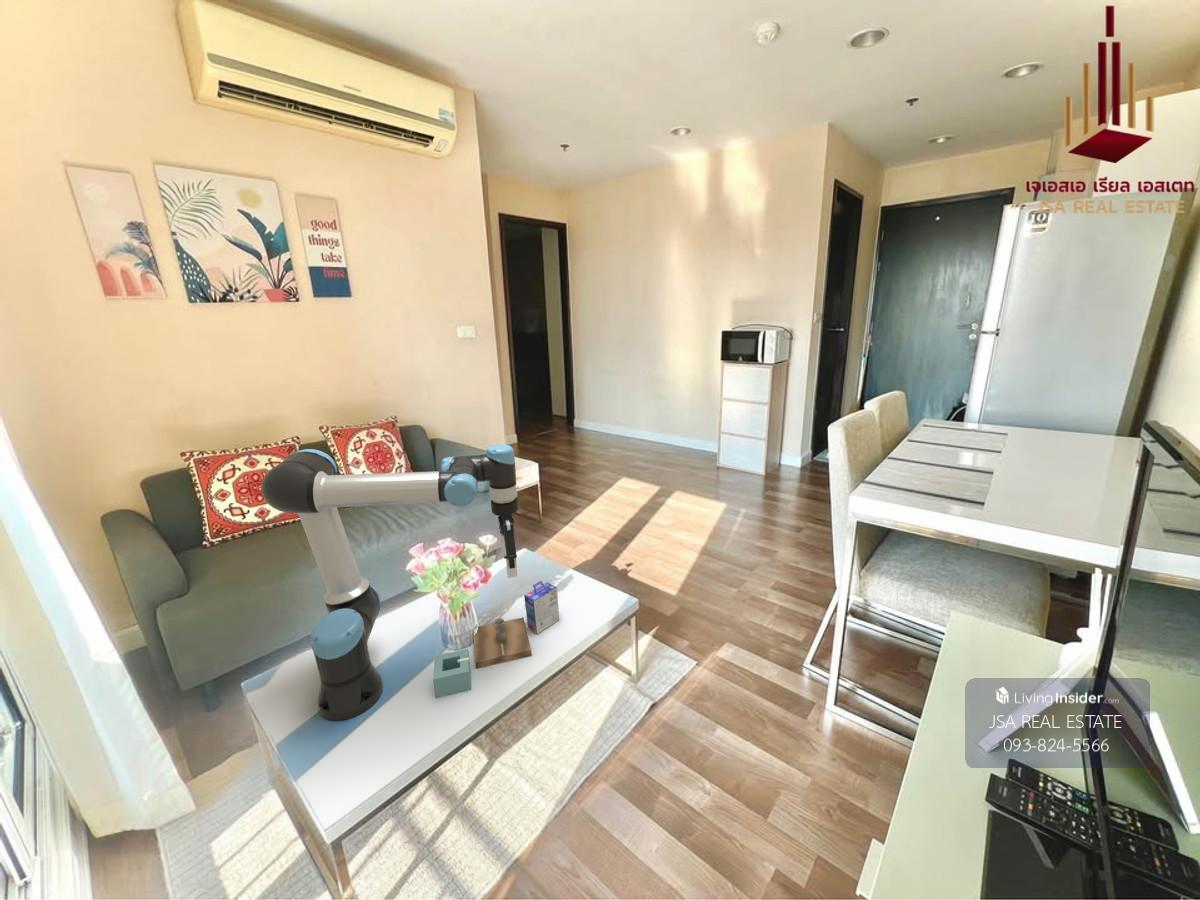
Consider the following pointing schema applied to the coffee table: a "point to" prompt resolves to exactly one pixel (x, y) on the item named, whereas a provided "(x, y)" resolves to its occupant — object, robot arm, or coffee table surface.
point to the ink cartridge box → (541, 607)
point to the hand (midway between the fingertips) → (509, 564)
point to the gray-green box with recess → (452, 673)
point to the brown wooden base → (501, 642)
